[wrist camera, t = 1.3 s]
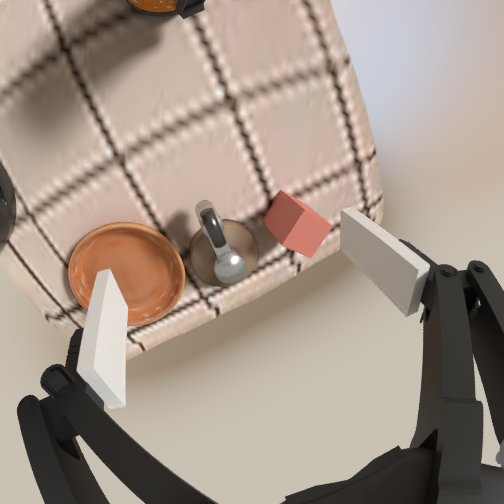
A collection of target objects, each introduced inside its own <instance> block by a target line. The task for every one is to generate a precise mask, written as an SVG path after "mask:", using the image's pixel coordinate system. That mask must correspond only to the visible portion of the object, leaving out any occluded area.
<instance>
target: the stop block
mask: <svg viewBox="0 0 504 504" xmlns="http://www.w3.org/2000/svg"><path fill="white" fill-rule="evenodd" d="M262 222H263V223H264V224H265V225H266V227H267V228H268V229H269V230H270V231H271V233H272V234H273V235H274V236H275V238H276V239H277V240H278V241H279V242H280V244H281V245H283V246H285V247H287V248H289V249H292V250H294V251H296V252H298V253H300V254H303V255H305V256H307V257H309V258H311V257H312V256H313V255H314V253H315V252H316V250H317V249H318V247H319V246H320V244H321V243H322V241H323V240H324V238H325V237H326V235H327V234H328V232H329V231H330V229H331V228H332V225H331V224H330V223H329V222H327V221H326V220H325V219H324V218H323V217H321V216H320V215H319V214H318V213H316V212H315V211H314V210H313V209H311V208H310V207H309V206H308V205H306V204H304V203H303V202H301V201H299V200H298V199H296V198H294V197H292V196H291V195H289V194H287V193H285V192H284V191H282V190H281V191H280V192H279V194H278V196H277V197H276V199H275V200H274V202H273V204H272V205H271V207H270V208H269V210H268V212H267V213H266V215H265V216H264V218H263V220H262Z"/></svg>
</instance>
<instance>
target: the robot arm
mask: <svg viewBox="0 0 504 504" xmlns="http://www.w3.org/2000/svg"><path fill="white" fill-rule="evenodd" d="M15 220H16V199H15V193H14V189H13V186H12V183H11V180H10V178H9V176H8V174H7V172H6V170H5V169H4V167H3V166H2V164H1V163H0V250H1V249H2V248H3V246H4V245H5V244H6V242H7V241H8V240H9V238H10V236H11V234H12V231H13V229H14V225H15ZM340 250H341V251H342V252H343V253H344V254H345V255H346V256H347V257H348V258H349V259H350V260H351V261H352V262H353V263H354V264H355V265H356V266H357V267H358V268H359V269H360V270H361V271H362V272H363V273H364V274H365V275H366V276H367V277H368V278H369V279H370V280H371V281H372V282H373V283H374V284H375V285H376V286H377V287H378V288H379V289H380V290H381V291H382V292H383V293H384V294H385V295H386V296H387V297H388V298H389V299H390V300H391V301H392V302H393V303H394V304H395V305H396V307H398V309H399V310H400V311H401V312H402V313H403V314H404V315H405V316H406V317H407V316H409V315H411V314H413V313H415V312H417V311H418V308H419V305H420V302H421V303H422V304H424V306H425V307H424V310H423V314H422V317H421V319H420V323H422V320H423V328H424V329H423V331H424V332H423V364H422V380H421V393H420V403H419V411H418V419H417V426H416V431H415V434H414V437H413V439H412V441H411V444H410V448H407V449H402V450H401V448H400V447H399V446H397V447H395V448H393V449H392V450H390V451H388V452H386V453H384V454H383V455H381V456H379V457H377V458H375V459H374V460H372V461H371V462H370V463H369V464H368V465H367V466H366V467H364V468H363V469H362V470H361V471H359V472H358V473H357V474H356V475H354V476H353V477H352V478H350V479H348V480H345V481H340V482H335V483H329V484H324V485H318V486H314V487H311V488H308V489H306V490H303V491H300V492H297V493H294V494H291V495H289V496H286V497H285V498H286V500H285V501H284V502H282V503H281V504H504V291H503V289H502V287H501V286H500V284H499V283H498V281H497V279H496V278H495V276H494V275H493V273H492V272H491V270H490V268H489V267H488V266H487V265H486V264H484V263H483V262H480V261H475V260H474V261H471V262H469V265H468V268H467V270H462V271H458V270H457V269H455V268H454V267H452V266H450V265H447V264H441V265H437V264H436V263H435V262H433V261H432V260H431V259H430V258H428V257H427V256H426V255H425V254H423V253H421V251H419V250H418V249H416V248H415V247H414V246H413V245H411V244H410V243H409V242H406V241H404V240H401V239H399V240H397V239H396V238H395V237H393V236H392V235H391V234H389V233H388V232H387V231H385V230H384V229H382V228H381V227H380V226H378V225H377V224H376V223H374V222H373V221H371V220H370V219H369V218H367V217H366V216H364V215H363V214H361V213H360V212H359V211H357V210H356V209H354V208H353V207H349V208H345V209H341V234H340ZM479 300H480V305H479ZM127 318H128V306H127V304H126V302H125V300H124V298H123V296H122V294H121V292H120V289H119V287H118V285H117V283H116V281H115V278H114V276H113V274H112V272H111V269H106V270H103V271H99V272H97V276H96V280H95V283H94V287H93V291H92V295H91V299H90V303H89V308H88V312H87V317H86V321H85V326H84V328H81V329H77V330H76V331H75V332H74V334H73V336H72V337H71V340H70V345H69V350H68V355H67V359H66V365H65V367H64V366H63V365H61V364H55V365H51V366H50V367H49V368H47V369H46V370H45V371H44V373H43V374H42V377H41V381H40V383H41V387H42V388H43V389H44V390H45V391H46V392H47V393H48V394H49V395H50V396H48V397H46V398H44V399H42V400H39V399H38V398H37V397H35V396H34V395H28V396H25V397H24V398H23V399H22V400H21V401H20V403H19V404H18V407H17V415H18V420H19V424H20V429H21V433H22V436H23V441H24V444H25V448H26V451H27V455H28V458H29V461H30V464H31V468H32V471H33V474H34V477H35V479H36V482H37V485H38V487H39V490H40V493H41V495H42V498H43V500H44V502H45V504H110V503H109V502H108V500H107V498H106V497H105V495H104V493H103V492H102V490H101V488H100V486H99V485H98V483H97V481H96V479H95V477H94V475H93V473H92V471H91V470H90V468H89V466H88V464H87V462H86V460H85V458H84V455H83V453H82V452H81V449H80V447H79V445H78V442H77V440H76V438H75V437H76V436H78V435H80V436H81V437H82V438H83V440H84V441H85V442H86V443H87V444H88V446H89V447H90V448H91V449H92V450H93V452H94V453H95V454H96V455H97V456H98V457H99V458H100V459H101V461H102V462H103V463H104V464H105V465H106V466H107V467H108V468H109V469H110V470H111V471H112V472H113V473H114V474H115V475H116V476H117V477H118V478H119V479H120V480H121V481H122V482H123V483H124V484H125V485H126V486H127V487H128V488H129V489H130V490H131V491H132V492H133V493H134V494H135V495H136V496H137V497H139V498H140V499H141V500H142V501H143V502H144V503H145V504H218V503H217V502H215V501H214V500H212V499H210V498H209V497H207V496H206V495H204V494H203V493H201V492H200V491H198V490H197V489H195V488H194V487H193V486H191V485H190V484H188V483H187V482H185V481H184V480H183V479H181V478H180V477H179V476H177V475H176V474H174V473H173V472H172V471H171V470H169V469H168V468H167V467H166V466H164V465H163V464H162V463H161V462H159V461H158V460H157V459H156V458H154V457H153V456H152V455H151V454H150V453H148V452H147V451H146V450H145V449H144V448H143V447H142V446H140V445H139V444H138V443H137V442H136V441H135V440H134V439H133V438H132V437H130V436H129V435H128V434H127V433H126V432H125V431H124V430H123V429H122V428H121V427H120V426H119V425H118V424H117V423H116V422H115V421H114V420H113V419H112V418H111V417H110V416H109V415H108V414H107V413H106V412H105V411H104V403H105V404H106V405H107V406H108V407H109V408H110V409H113V408H120V407H125V406H126V398H125V397H126V393H125V368H126V336H127ZM473 355H474V358H475V361H476V364H477V367H478V371H479V374H480V377H481V380H482V384H483V387H484V390H485V394H486V398H487V402H488V406H489V410H490V414H491V419H492V423H493V426H494V431H495V434H496V437H497V439H498V442H499V444H500V451H499V452H498V453H497V455H496V461H497V463H498V464H501V467H495V466H491V465H486V464H482V463H481V459H482V445H483V444H482V443H483V404H482V402H481V401H477V400H476V397H475V377H474V362H473Z"/></svg>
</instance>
